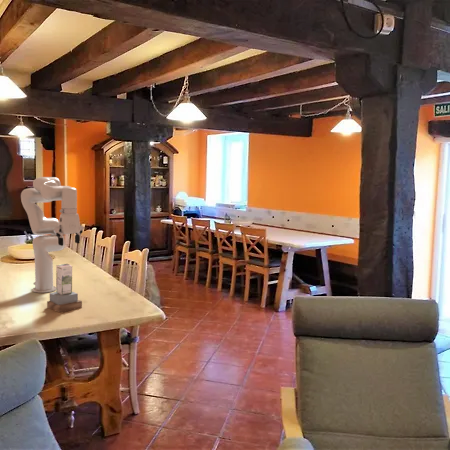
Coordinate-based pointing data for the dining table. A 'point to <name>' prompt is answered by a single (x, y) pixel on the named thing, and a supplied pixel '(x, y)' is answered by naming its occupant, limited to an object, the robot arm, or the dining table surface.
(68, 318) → the dining table surface
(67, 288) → the syrup box
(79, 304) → the walnut base block
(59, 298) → the slate top block
